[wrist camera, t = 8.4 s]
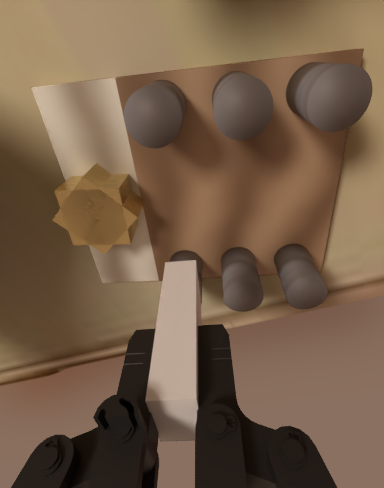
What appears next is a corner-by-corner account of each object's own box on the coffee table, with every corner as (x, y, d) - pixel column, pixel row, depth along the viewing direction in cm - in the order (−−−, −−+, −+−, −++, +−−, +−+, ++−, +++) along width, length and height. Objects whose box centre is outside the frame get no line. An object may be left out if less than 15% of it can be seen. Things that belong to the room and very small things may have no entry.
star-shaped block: (78, 236, 26) (65, 255, 24) (55, 164, 23) (36, 178, 20) (150, 234, 26) (144, 253, 23) (138, 161, 22) (129, 174, 20)
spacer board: (105, 277, 30) (85, 320, 25) (38, 86, 20) (-16, 96, 15) (317, 266, 28) (341, 310, 23) (356, 49, 18) (412, 46, 14)
